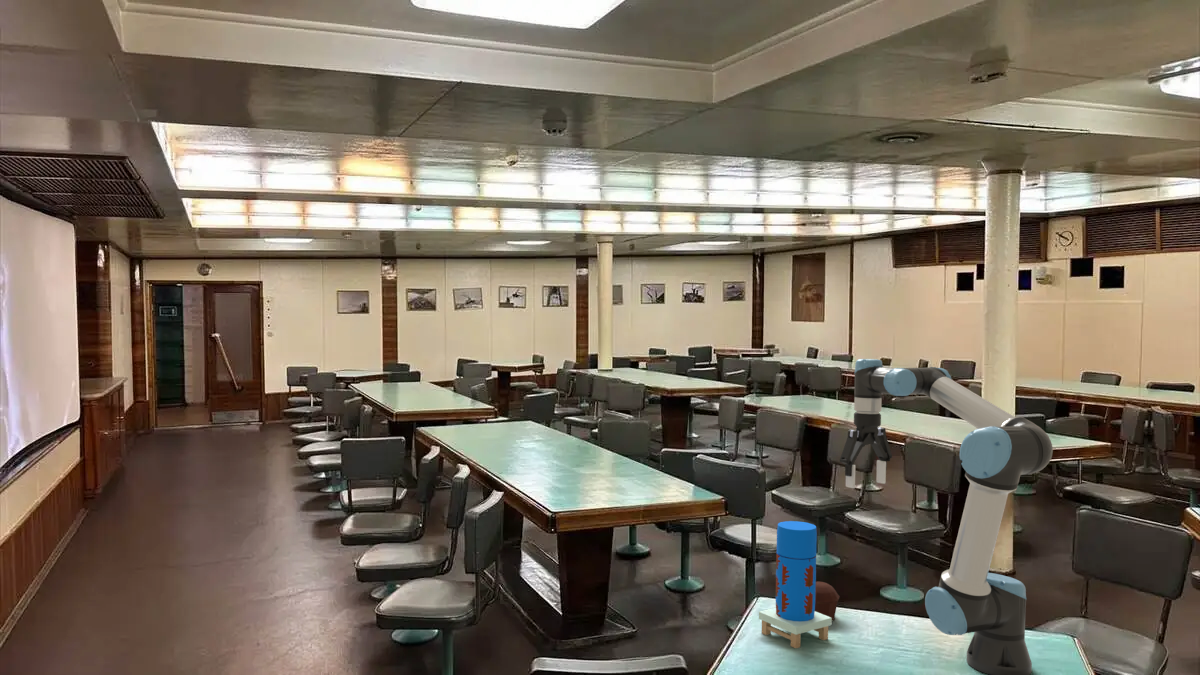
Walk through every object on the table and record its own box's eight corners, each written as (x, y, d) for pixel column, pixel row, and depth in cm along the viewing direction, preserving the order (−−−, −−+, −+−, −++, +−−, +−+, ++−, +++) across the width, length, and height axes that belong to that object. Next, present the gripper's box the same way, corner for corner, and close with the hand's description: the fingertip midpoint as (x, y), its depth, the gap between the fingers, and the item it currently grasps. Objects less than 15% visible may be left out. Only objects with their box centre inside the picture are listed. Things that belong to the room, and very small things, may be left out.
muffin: (843, 624, 243) (844, 590, 242) (805, 623, 243) (806, 589, 243) (833, 610, 254) (833, 577, 254) (796, 609, 255) (797, 576, 255)
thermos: (812, 609, 237) (813, 521, 237) (818, 622, 227) (819, 531, 226) (773, 607, 239) (775, 520, 238) (777, 620, 228) (779, 529, 227)
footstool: (831, 639, 231) (831, 617, 231) (795, 649, 223) (796, 627, 223) (793, 623, 243) (793, 603, 242) (758, 632, 235) (758, 611, 235)
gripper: (884, 409, 252) (882, 479, 252) (828, 412, 238) (826, 487, 238) (905, 411, 245) (903, 483, 246) (849, 415, 232) (847, 491, 232)
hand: (865, 485), depth 242 cm, fingers open, 13 cm apart
